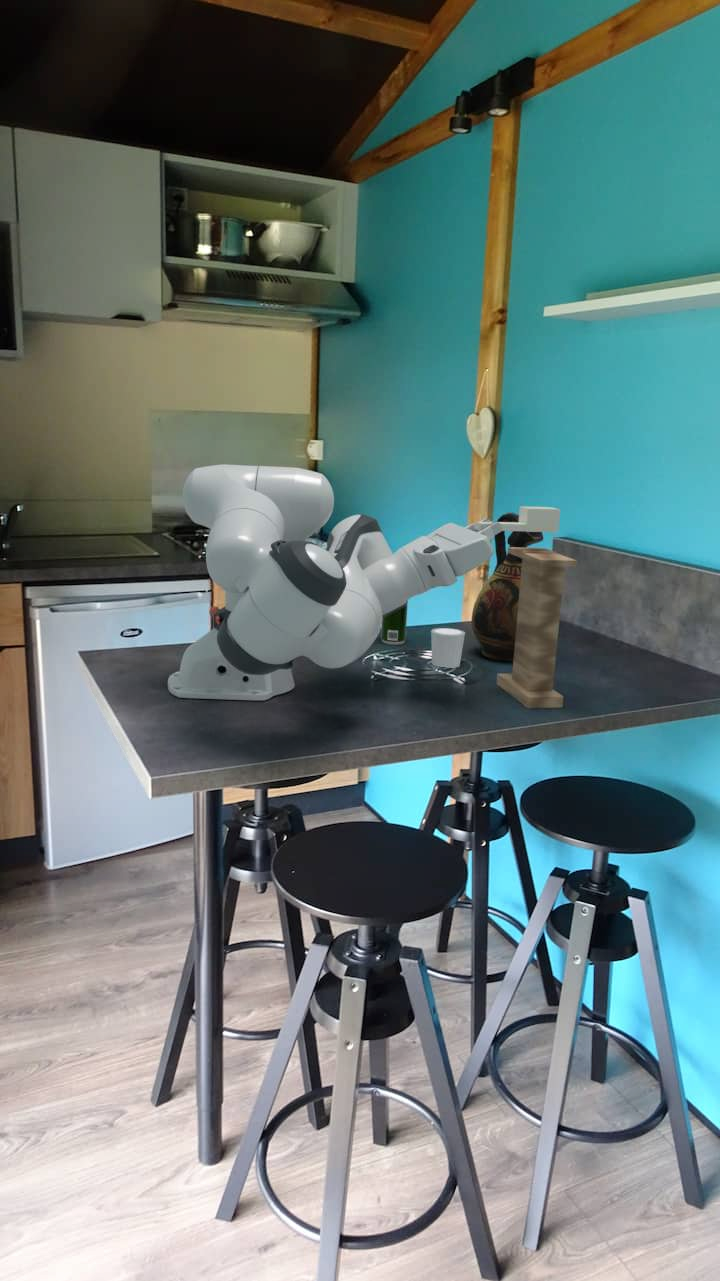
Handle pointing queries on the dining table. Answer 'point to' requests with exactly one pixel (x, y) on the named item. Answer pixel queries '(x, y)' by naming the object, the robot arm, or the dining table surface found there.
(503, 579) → the ceramic jug
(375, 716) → the dining table surface
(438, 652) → the white cylinder
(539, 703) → the wooden post with base
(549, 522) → the white block with handle
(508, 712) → the dining table surface
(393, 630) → the beer can
